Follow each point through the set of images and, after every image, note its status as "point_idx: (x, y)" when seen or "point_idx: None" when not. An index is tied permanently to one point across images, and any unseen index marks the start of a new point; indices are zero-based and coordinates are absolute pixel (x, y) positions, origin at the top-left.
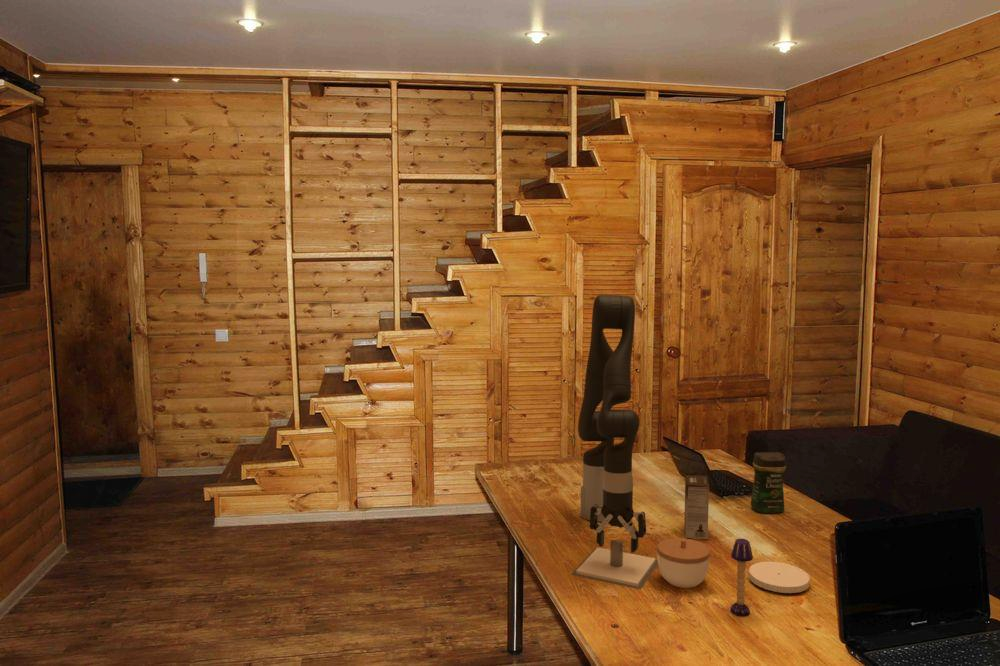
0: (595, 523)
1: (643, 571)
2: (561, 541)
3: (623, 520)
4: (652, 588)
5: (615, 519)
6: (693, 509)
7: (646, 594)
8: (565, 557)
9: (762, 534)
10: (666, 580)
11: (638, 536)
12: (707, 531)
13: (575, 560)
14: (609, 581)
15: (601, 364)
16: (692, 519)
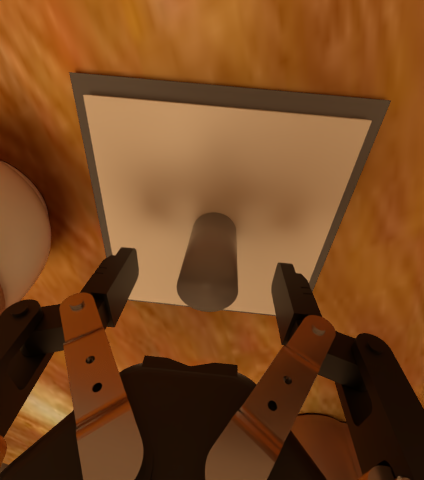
0: (350, 382)
1: (113, 211)
2: (403, 334)
3: (86, 425)
4: (54, 125)
5: (188, 429)
6: None
7: (44, 56)
8: (397, 253)
9: (20, 414)
10: (10, 167)
11: (55, 310)
12: (73, 410)
13: (361, 243)
14: (209, 96)
15: None
16: None
